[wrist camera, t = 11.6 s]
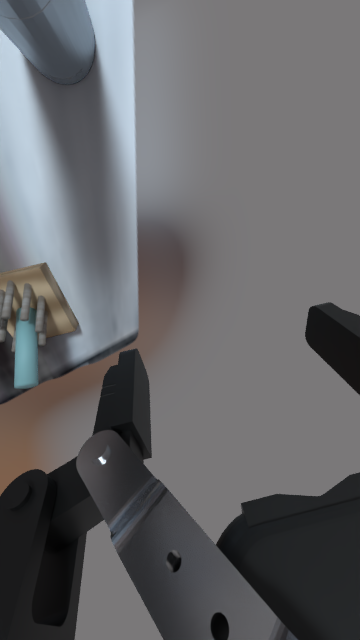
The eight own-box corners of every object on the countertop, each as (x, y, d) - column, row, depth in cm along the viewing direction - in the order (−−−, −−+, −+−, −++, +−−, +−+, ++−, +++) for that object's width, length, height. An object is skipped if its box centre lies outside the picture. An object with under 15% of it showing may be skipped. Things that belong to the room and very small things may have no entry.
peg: (12, 310, 40) (9, 387, 34) (29, 305, 40) (29, 381, 35) (24, 317, 43) (23, 389, 37) (40, 312, 43) (42, 384, 38)
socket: (-18, 277, 41) (-56, 299, 33) (45, 262, 41) (23, 281, 33) (25, 336, 49) (2, 365, 41) (78, 323, 49) (66, 350, 41)
